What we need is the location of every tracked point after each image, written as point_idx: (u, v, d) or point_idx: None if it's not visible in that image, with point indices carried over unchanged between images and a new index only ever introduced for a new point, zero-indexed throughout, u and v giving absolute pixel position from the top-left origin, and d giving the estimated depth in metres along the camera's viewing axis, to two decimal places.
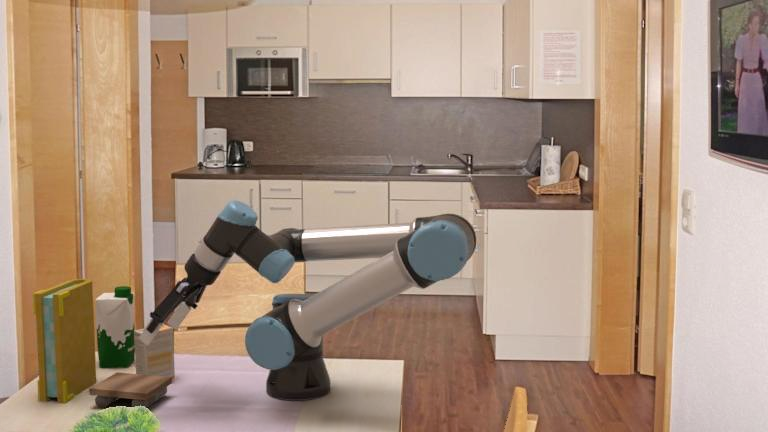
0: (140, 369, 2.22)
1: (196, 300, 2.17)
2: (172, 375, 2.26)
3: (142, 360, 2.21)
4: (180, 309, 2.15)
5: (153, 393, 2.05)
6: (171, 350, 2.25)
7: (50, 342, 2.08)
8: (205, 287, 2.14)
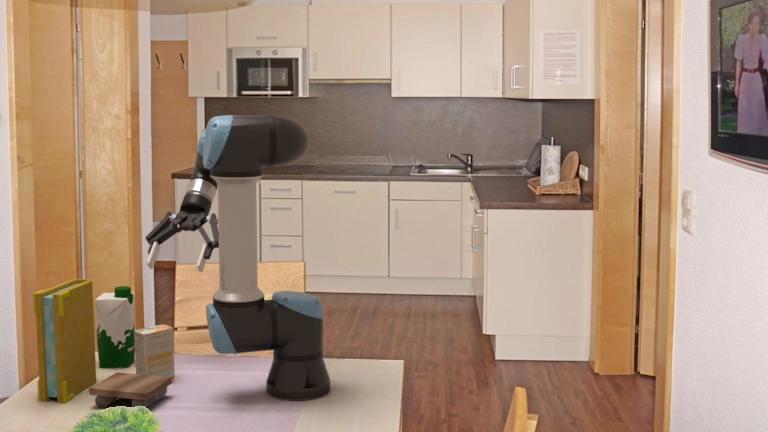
0: (140, 369, 2.22)
1: (214, 240, 2.35)
2: (172, 375, 2.26)
3: (142, 360, 2.21)
4: None
5: (153, 393, 2.05)
6: (171, 350, 2.25)
7: (50, 342, 2.08)
8: (214, 225, 2.37)
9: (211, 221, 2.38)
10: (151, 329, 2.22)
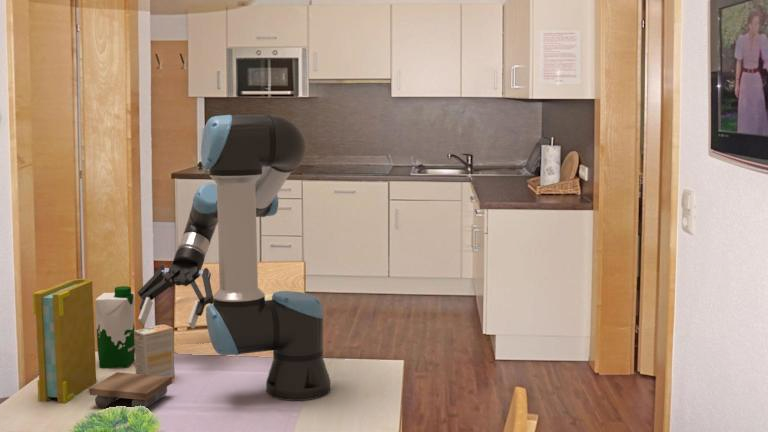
0: (140, 369, 2.22)
1: (206, 296, 2.33)
2: (172, 375, 2.26)
3: (142, 360, 2.21)
4: None
5: (153, 393, 2.05)
6: (171, 350, 2.25)
7: (50, 342, 2.08)
8: (206, 280, 2.36)
9: (203, 276, 2.37)
10: (151, 329, 2.22)
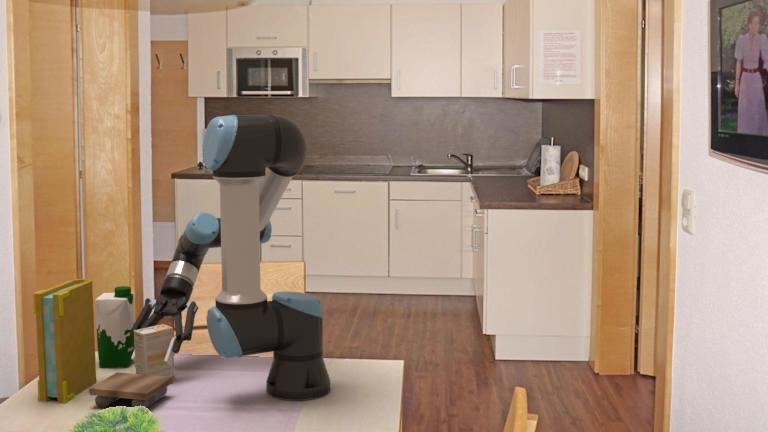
0: (140, 369, 2.22)
1: (183, 333, 2.25)
2: (172, 375, 2.26)
3: (141, 360, 2.21)
4: None
5: (153, 393, 2.05)
6: None
7: (50, 342, 2.08)
8: (190, 314, 2.28)
9: (189, 310, 2.29)
10: (150, 329, 2.22)
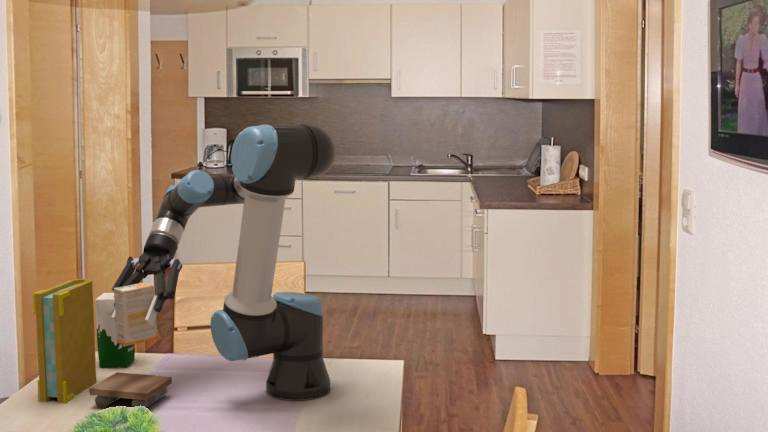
0: (120, 328, 2.12)
1: (165, 291, 2.15)
2: (155, 335, 2.16)
3: (122, 319, 2.11)
4: None
5: (153, 393, 2.05)
6: None
7: (50, 342, 2.08)
8: (173, 272, 2.17)
9: (172, 267, 2.18)
10: (131, 287, 2.12)
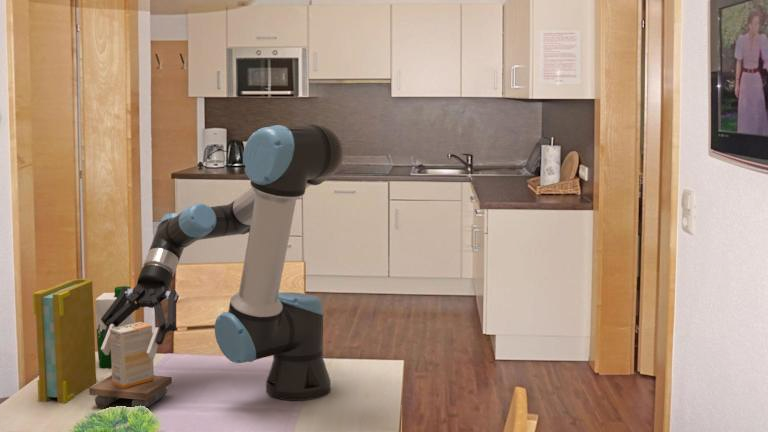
0: (116, 370, 2.06)
1: None
2: (151, 376, 2.10)
3: (118, 360, 2.05)
4: None
5: (153, 393, 2.05)
6: None
7: (50, 342, 2.08)
8: (171, 303, 2.12)
9: (169, 299, 2.13)
10: (128, 327, 2.07)
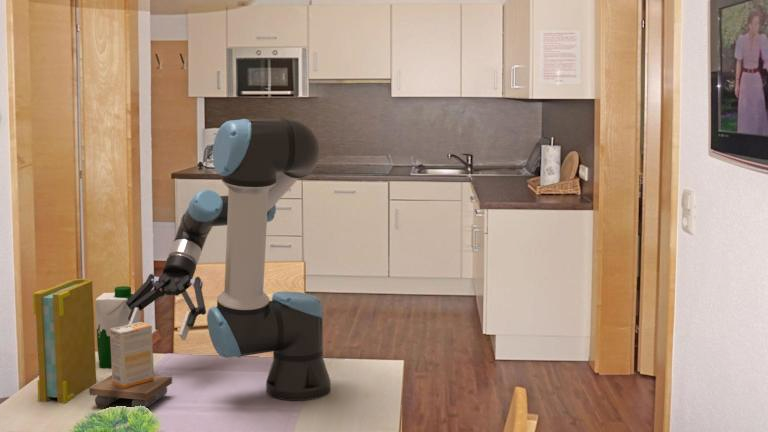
0: (116, 370, 2.06)
1: (198, 306, 2.22)
2: (151, 376, 2.10)
3: (118, 360, 2.05)
4: None
5: (153, 393, 2.05)
6: (150, 349, 2.09)
7: (50, 342, 2.08)
8: (198, 289, 2.25)
9: (195, 285, 2.26)
10: (128, 327, 2.07)
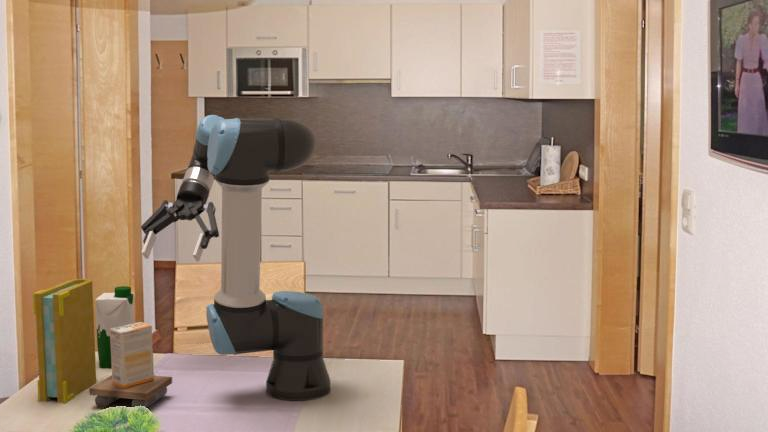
0: (116, 370, 2.06)
1: (211, 229, 2.28)
2: (151, 376, 2.10)
3: (118, 360, 2.05)
4: None
5: (153, 393, 2.05)
6: (150, 349, 2.09)
7: (50, 342, 2.08)
8: (211, 213, 2.31)
9: (208, 210, 2.32)
10: (128, 327, 2.07)
